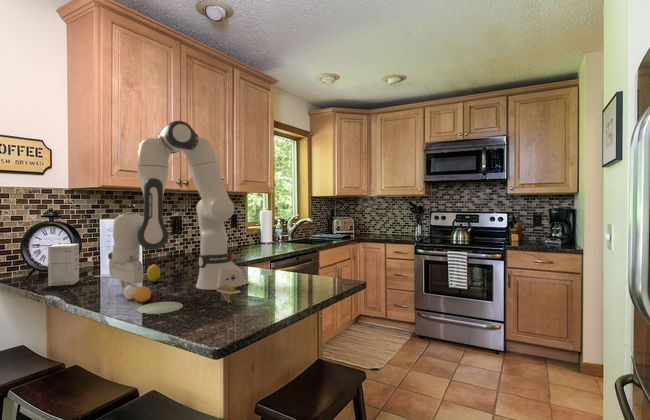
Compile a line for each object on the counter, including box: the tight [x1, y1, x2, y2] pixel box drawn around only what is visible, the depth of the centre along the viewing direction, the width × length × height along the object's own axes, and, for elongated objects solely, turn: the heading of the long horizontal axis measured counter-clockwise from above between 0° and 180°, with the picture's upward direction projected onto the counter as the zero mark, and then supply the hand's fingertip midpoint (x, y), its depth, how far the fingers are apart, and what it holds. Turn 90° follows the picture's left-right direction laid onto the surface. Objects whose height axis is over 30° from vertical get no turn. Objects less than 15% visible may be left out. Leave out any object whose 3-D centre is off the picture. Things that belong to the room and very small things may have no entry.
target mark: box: [136, 301, 184, 315], centre depth 119 cm, size 14×14×1 cm
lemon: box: [146, 263, 161, 283], centre depth 160 cm, size 6×6×8 cm
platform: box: [216, 284, 241, 304], centre depth 127 cm, size 12×18×7 cm, turn 59°
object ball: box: [134, 285, 152, 303], centre depth 126 cm, size 6×6×6 cm
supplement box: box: [47, 243, 80, 287], centre depth 154 cm, size 10×9×17 cm
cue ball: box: [122, 283, 140, 300], centre depth 129 cm, size 6×6×6 cm
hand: (126, 291), depth 134 cm, fingers closed
